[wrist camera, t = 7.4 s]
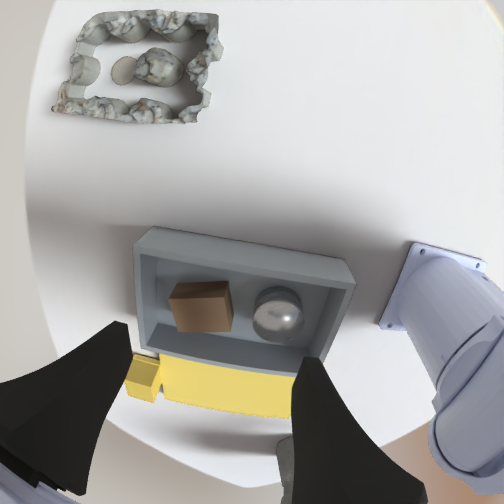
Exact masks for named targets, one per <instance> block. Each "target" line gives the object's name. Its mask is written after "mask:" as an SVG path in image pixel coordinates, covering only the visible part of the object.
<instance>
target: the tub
mask: <svg viewBox="0 0 504 504" xmlns="http://www.w3.org/2000/svg"><path fill="white" fill-rule="evenodd" d="M133 263H134V283H135V298H136V310H137V320H138V329H139V338H140V346H141V349H145V350H148V351H152V352H156V353H160V354H164V355H168V356H172V357H176V358H181V359H185V360H190V361H194V362H199V363H204V364H209V365H214V366H220V367H225V368H231V369H237V370H243V371H250V372H256V373H264V374H271V375H280V376H289V377H296V376H297V373H298V371H299V368H300V366H301V363H302V361H303V358H304V356H305V357H315V358H319V359H320V360H321V362H322V364H323V362H324V360H325V358H326V356H327V354H328V352H329V349H330V347H331V345H332V343H333V341H334V338H335V336H336V334H337V331H338V329H339V327H340V324H341V322H342V320H343V317H344V315H345V312H346V310H347V307H348V305H349V302H350V300H351V297H352V295H353V292H354V289H355V287H356V284H357V283H356V281H355V279H354V277H353V275H352V273H351V272H350V270H349V268H348V266H347V264H346V262H345V260H344V259H340V258H335V257H329V256H324V255H318V254H313V253H307V252H301V251H296V250H290V249H285V248H279V247H273V246H267V245H262V244H256V243H250V242H244V241H239V240H233V239H227V238H221V237H215V236H210V235H204V234H198V233H192V232H186V231H180V230H174V229H168V228H162V227H156V226H153V227H152V228H151V229H150V230H149V231H148V232H146V233H145V234H144V235H143V236H142V237H141V238H140V239H139V240H138V241H137V242H136V243H134V244H133ZM214 281H229V286H230V293H231V299H232V305H233V310H234V317H233V322H232V327H231V332H178V329H177V326H176V323H175V320H174V317H173V313H172V310H171V307H170V304H169V300H168V298H169V297H170V295H171V293H172V291H173V289H174V288H175V286H176V284H177V283H191V282H214ZM272 286H285V287H289V288H291V289H293V290H294V291H295V292H297V294H298V295H299V296H300V298H301V302H302V308H303V314H304V328H303V330H302V331H301V333H300V334H299V335H298V336H297V337H295V338H294V339H292V340H290V341H287V342H282V343H274V342H269V341H266V340H264V339H262V338H261V337H259V336H258V335H257V334H256V332H255V331H254V328H253V313H254V303H255V299H256V297H257V296H258V294H259V293H260V292H261V291H263V290H264V289H266V288H269V287H272Z"/></svg>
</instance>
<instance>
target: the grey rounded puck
mask: <svg viewBox="0 0 504 504" xmlns="http://www.w3.org/2000/svg"><path fill="white" fill-rule="evenodd" d="M253 328H254V331H255V332H256V334H257V335H258V336H259V337H261V338H262V339H264V340H266V341H269V342H274V343H282V342H287V341H290V340H292V339H294V338H295V337H297V336H298V335H299V334H300V333H301V331H302V330H303V328H304V314H303V308H302V302H301V298H300V296H299V295H298V294H297V292H295V291H294V290H293V289H291V288H289V287H285V286H272V287H269V288H266V289H264V290H263V291H261V292H260V293H259V294H258V296H257V297H256V299H255V303H254V313H253Z"/></svg>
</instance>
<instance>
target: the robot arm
mask: <svg viewBox="0 0 504 504" xmlns="http://www.w3.org/2000/svg"><path fill="white" fill-rule="evenodd" d="M421 249H423V251H422V252H421V253H420V251H421ZM486 268H487V263H486V262H485V261H483V260H480V259H476V258H473V257H469V256H466V255H462V254H458V253H455V252H451V251H447V250H443V249H440V248H436V247H432V246H428V245H424V244H420V243H415V244H413V245H412V246H411V248H410V251H409V254H408V257H407V259H406V262H405V264H404V267H403V270H402V272H401V275H400V277H399V279H398V282H397V284H396V287H395V289H394V291H393V294H392V296H391V298H390V300H389V303H388V305H387V307H386V309H385V311H384V313H383V316H382V318H381V320H380V322H379V327H380V328H381V329H383V330H395V331H407V333H408V335H409V337H410V339H411V341H412V342H413V344H414V346H415V348H416V350H417V352H418V354H419V356H420V358H421V360H422V362H423V364H424V366H425V368H426V370H427V372H428V374H429V376H430V378H431V380H432V382H433V385H434V387H435V389H436V391H437V393H436V396H435V397H434V399H433V400H432V404H433V406H434V409H435V411H436V415H435V416H434V417H433V419H432V420H431V422H430V425H429V429H428V444H429V448H430V452H431V454H432V456H433V458H434V460H435V461H436V463H437V464H438V466H439V467H440V468H441V469H442V470H443V471H444V472H446V473H447V474H449V475H451V476H453V477H456V478H458V479H461V480H463V481H464V482H466V483H467V484H468V485H469V486H470V487H471V488H472V489H473V491H474V492H475V493H476V494H480V495H492V494H504V292H503V291H502V290H501V289H500V288H499V287H498V286H497V285H496V284H495V283H494V282H493V281H492V280H491V279H489V278H488V277H487V276H486V275H485V274H484V273H485V271H486ZM390 323H391V324H390ZM388 324H390V325H388ZM132 360H133V354H132V349H131V343H130V338H129V331H128V325H127V324H125V323H121V322H118V321H114V322H112V323H111V324H109V325H108V326H106V327H105V328H104V329H102V330H101V331H99V332H98V333H97V334H95V335H94V336H93V337H91V338H90V339H88V340H87V341H85V342H84V343H83V344H81V345H80V346H78V347H77V348H75V349H74V350H72V351H71V352H69V353H67V354H66V355H64V356H63V357H61V358H60V359H58V360H56V361H54V362H53V363H51V364H49V365H47V366H45V367H43V368H41V369H39V370H37V371H34V372H32V373H29V374H27V375H24V376H22V377H19V378H16V379H13V380H10V381H6V382H3V383H0V504H79V503H78V502H76V501H74V500H72V499H70V498H68V497H66V496H64V495H63V494H61V493H59V492H57V488H59V489H60V490H62V491H66V490H68V491H70V492H72V493H74V494H76V495H78V496H81V495H84V494H86V488H87V481H88V475H89V470H90V466H91V461H92V457H93V453H94V449H95V446H96V443H97V439H98V436H99V433H100V430H101V427H102V425H103V422H104V420H105V418H106V415H107V413H108V411H109V409H110V407H111V406H112V404H113V402H114V400H115V398H116V396H117V394H118V392H119V390H120V388H121V386H122V384H123V382H124V380H125V378H126V376H127V373H128V371H129V368H130V365H131V362H132ZM291 419H292V432H293V444H294V479H293V491H292V501H291V504H427V503H428V499H427V494H426V490H425V486H424V483H423V482H421V481H420V480H418V479H417V478H415V477H414V476H412V475H411V474H409V473H408V472H406V471H405V470H404V469H402V468H401V467H400V466H399V465H397V464H396V463H395V462H393V461H392V460H391V459H390V458H389V457H388V456H387V455H386V454H385V453H384V452H383V451H382V450H381V449H380V448H379V447H378V446H377V445H376V444H375V443H374V442H373V441H372V440H371V439H370V437H369V436H368V435H367V434H366V433H365V432H364V430H363V429H362V428H361V427H360V425H359V424H358V423H357V421H356V420H355V418H354V417H353V416H352V414H351V413H350V411H349V410H348V408H347V407H346V405H345V403H344V402H343V400H342V399H341V397H340V395H339V394H338V392H337V390H336V388H335V387H334V385H333V383H332V381H331V379H330V378H329V376H328V374H327V372H326V370H325V368H324V366H323V364H322V362H321V360H320V359H319V358H315V357H305V356H304V358H303V361H302V363H301V366H300V368H299V371H298V373H297V376H296V378H295V381H294V383H293V386H292V392H291Z"/></svg>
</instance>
